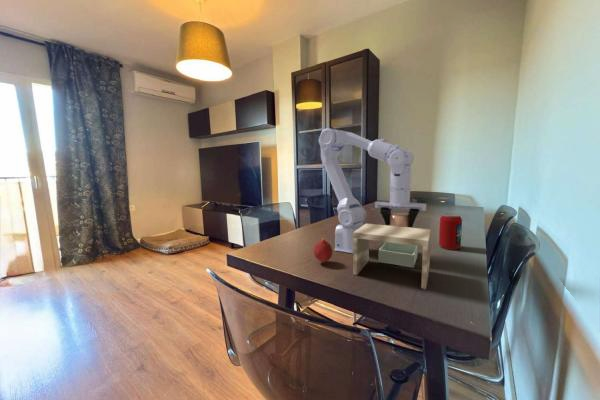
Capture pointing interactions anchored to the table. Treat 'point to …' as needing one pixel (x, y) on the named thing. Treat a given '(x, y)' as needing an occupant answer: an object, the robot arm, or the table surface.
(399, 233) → the shelf
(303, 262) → the table surface
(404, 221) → the pink-tan solid cylinder
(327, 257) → the onion
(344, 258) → the table surface
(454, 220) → the beverage can
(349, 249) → the robot arm
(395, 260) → the tray
